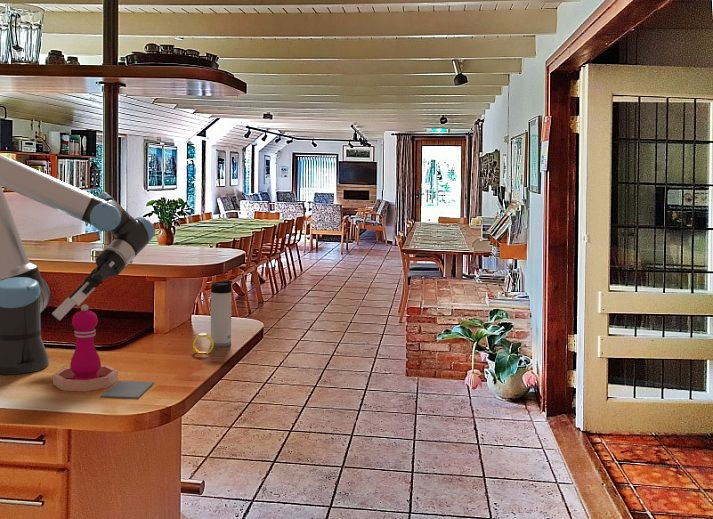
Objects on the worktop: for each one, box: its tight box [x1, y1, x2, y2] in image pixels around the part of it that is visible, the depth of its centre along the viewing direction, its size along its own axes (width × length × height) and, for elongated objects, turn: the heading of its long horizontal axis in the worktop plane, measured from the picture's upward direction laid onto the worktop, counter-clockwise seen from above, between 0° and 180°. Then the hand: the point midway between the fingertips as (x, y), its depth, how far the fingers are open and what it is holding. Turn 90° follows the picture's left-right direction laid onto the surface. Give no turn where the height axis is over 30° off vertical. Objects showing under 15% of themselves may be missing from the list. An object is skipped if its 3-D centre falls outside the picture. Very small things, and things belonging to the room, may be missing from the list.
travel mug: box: [210, 280, 233, 348], centre depth 218 cm, size 6×7×20 cm
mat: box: [100, 380, 155, 400], centre depth 172 cm, size 9×12×1 cm
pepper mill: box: [69, 304, 102, 380], centre depth 176 cm, size 7×7×20 cm
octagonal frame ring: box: [52, 364, 119, 392], centre depth 177 cm, size 14×14×2 cm
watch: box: [192, 332, 215, 355], centre depth 208 cm, size 6×3×6 cm, turn 88°
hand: (64, 309), depth 185 cm, fingers open, 13 cm apart
